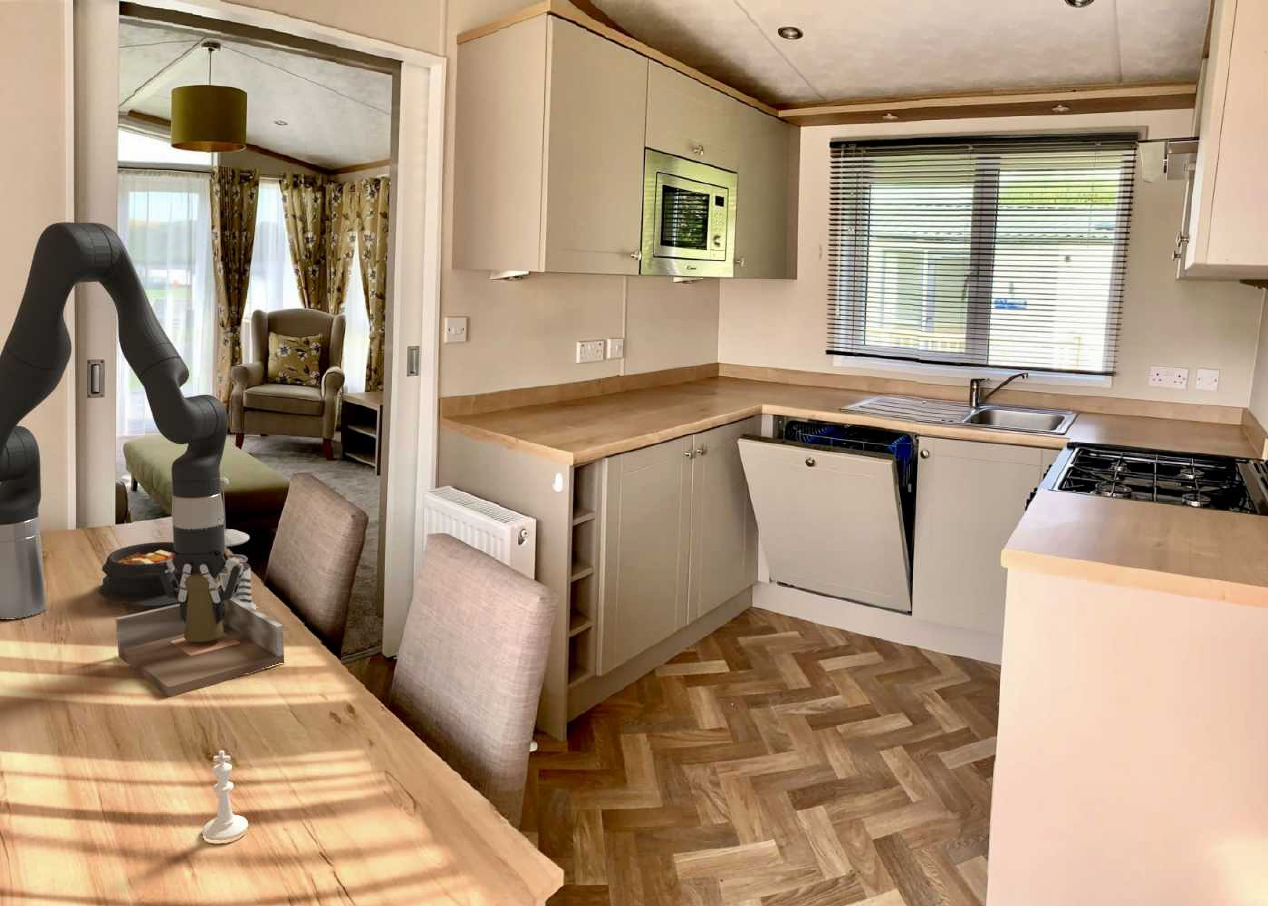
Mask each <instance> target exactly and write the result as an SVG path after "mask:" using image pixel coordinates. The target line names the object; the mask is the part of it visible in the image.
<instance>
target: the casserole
mask: <svg viewBox="0 0 1268 906" xmlns="http://www.w3.org/2000/svg"><path fill="white" fill-rule="evenodd" d="M174 554H175V550H174V541H172V542H171V541H158V542H146V543H140V544H139V543H137V544H134V545H129V546H125V547H122V548H118V549H116V550H114V551H112V552H111V553H110V554H108V555H107V557H106V558H107V559H106V562H105V563H104V564H103V566H102V567H101V570H102V572H103V573H104V574H105V577H103V578H102V585H101V586H100V588H99V589H98V594H99V595H100V597H102V598H103V599H106V600H108V601H112V602H115V603H116V602H117V603H125V604H129V605H135V606H138V607H142V608H149V609H151V608H163V607H168V606H172V605H177V604H180V602H179V600H178V599H176V598H173V597H172V598H169V597H168V596H167V595H166V592H165V590H164V587H163V585H162V582H161V580H160V578H159V575H158V573H157V570H156V568H155V566H156V565H157V564H158V563H160V562H161V561H162V560H164V559H167V560H170V559H172V558H173V556H174ZM174 568H175V569H174V571H173V572H174V574H175V577H176V579H177V582H178V584H179V586H180V583H181V579H182V575H181V573H180V572H179V571H178V570H177V568H176V567H175V566H174Z"/></svg>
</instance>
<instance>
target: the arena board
mask: <svg viewBox="0 0 1268 906" xmlns="http://www.w3.org/2000/svg"><path fill="white" fill-rule="evenodd" d="M233 596H234V595H233ZM233 596H232V598H231V599H229V600H227V599H226V600H225V617H224V618H223V619H222V625H223V630H224V634H223V636H221V637H220V638H217V639H215V640H210V641H204V642H192V641H188V640H186V639H185V638H184V633H185V623H184V620H182V619H181V617H180V604H176V605H170V606H163V607H158V608H155V609H150V610H146V611H143V612H138V613H133V614H128V615H122V616H119V617H115V624H116V636H117V637H116V638H117V649H118V650H117V653H118V657H119V658H120V659H122V660H123V661H124V662H125V663H126V664H128V665H129V666H130V667H131V668H132V669H134V670H135V671H136V672H137V673H139V674H140V675H141V676H143V678H145V679H146V680H147V681H149V683H151V684H152V685H154V686H155V687H156V689H158V690H160V691H161V692H162V693H163V694H164V695H166V696H167V697H169V698H170V697H173V696H178V695H180V694H183V693H187V692H191V691H194V690H198V689H201V688H205V687H208V686H212V685H214V684H213V683H215V684H218V683H221V682H226V681H230V680H232V678H233V679H235V678H239V677H238V676H240V677H242V676H241V675H243V676H245V675H244V674H246V673H250V674H252V673H251V672H254V671H257V670H260V669H262V668H266V667H269V666H272V665H276V664H279V663H284V664H285V650H284V649H285V648H284V625H283V624H282V623H279V622H278V621H276V620H274V619H273V618H270V617H269V616H267V615H265V614H264V613H262V612H260V611H259V610H255V609H253V608H252V607H250V606H248V605H247V604H245V603H243V602H241V601H240V600H238V599H236V598H234V597H233ZM257 672H258V671H257ZM254 673H255V672H254ZM211 684H212V685H211ZM207 685H208V686H207Z"/></svg>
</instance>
